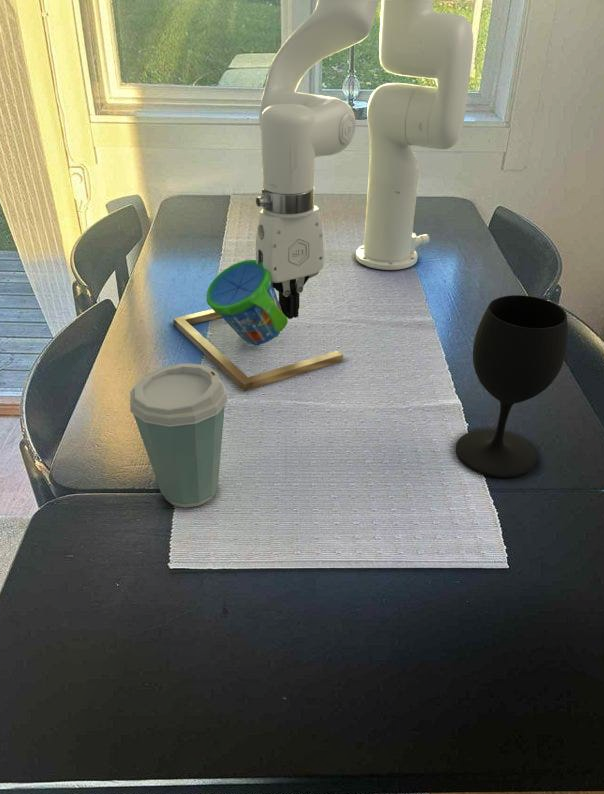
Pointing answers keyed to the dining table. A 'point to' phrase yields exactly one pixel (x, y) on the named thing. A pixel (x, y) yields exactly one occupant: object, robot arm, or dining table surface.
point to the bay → (235, 373)
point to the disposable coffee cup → (182, 429)
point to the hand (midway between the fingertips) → (289, 314)
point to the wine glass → (513, 376)
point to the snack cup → (247, 302)
